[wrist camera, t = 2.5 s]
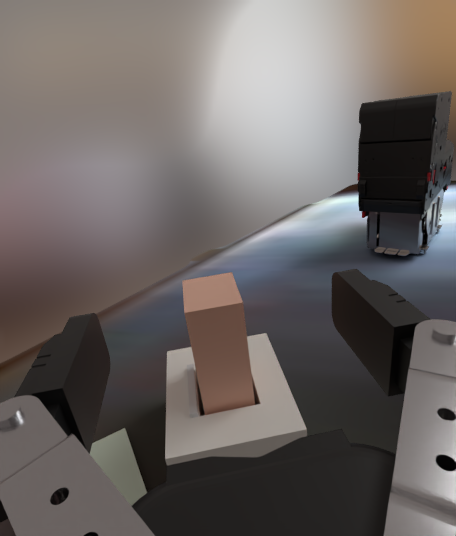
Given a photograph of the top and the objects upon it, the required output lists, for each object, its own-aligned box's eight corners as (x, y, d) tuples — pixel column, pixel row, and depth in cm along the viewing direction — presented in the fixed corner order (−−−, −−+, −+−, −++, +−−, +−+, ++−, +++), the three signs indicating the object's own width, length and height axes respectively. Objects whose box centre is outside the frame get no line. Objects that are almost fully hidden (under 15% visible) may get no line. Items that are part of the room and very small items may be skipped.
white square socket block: (178, 397, 38) (166, 348, 35) (270, 379, 39) (265, 329, 36) (180, 513, 27) (164, 455, 24) (309, 484, 28) (306, 424, 25)
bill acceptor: (446, 223, 73) (465, 85, 62) (419, 269, 57) (438, 94, 46) (391, 218, 79) (400, 93, 68) (353, 258, 63) (357, 103, 53)
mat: (126, 432, 34) (125, 428, 34) (167, 554, 25) (166, 549, 24) (23, 481, 31) (21, 476, 31) (24, 646, 21) (20, 641, 21)
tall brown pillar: (207, 409, 34) (182, 280, 29) (248, 401, 35) (231, 272, 29) (213, 455, 30) (184, 312, 24) (259, 445, 30) (242, 302, 24)
